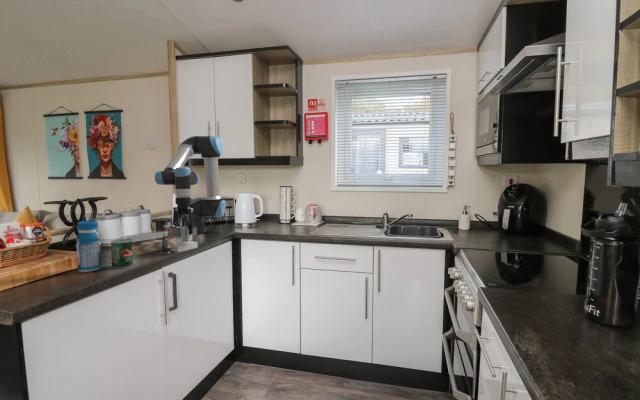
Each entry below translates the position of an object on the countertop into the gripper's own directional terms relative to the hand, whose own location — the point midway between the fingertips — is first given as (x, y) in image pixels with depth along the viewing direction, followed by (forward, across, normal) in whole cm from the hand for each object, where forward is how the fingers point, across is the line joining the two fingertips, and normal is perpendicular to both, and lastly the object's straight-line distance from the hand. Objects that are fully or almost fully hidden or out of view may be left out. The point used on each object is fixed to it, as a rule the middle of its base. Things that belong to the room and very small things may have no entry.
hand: (184, 239), depth 171 cm
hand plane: (+5, -13, -9) cm, 16 cm away
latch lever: (-3, -1, -19) cm, 19 cm away
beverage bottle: (+6, -3, -44) cm, 44 cm away
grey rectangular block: (-2, 0, 0) cm, 2 cm away
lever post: (+5, -1, -11) cm, 12 cm away
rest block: (+5, 0, 0) cm, 5 cm away
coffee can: (+5, -24, +3) cm, 24 cm away
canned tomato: (+6, +3, -34) cm, 35 cm away
